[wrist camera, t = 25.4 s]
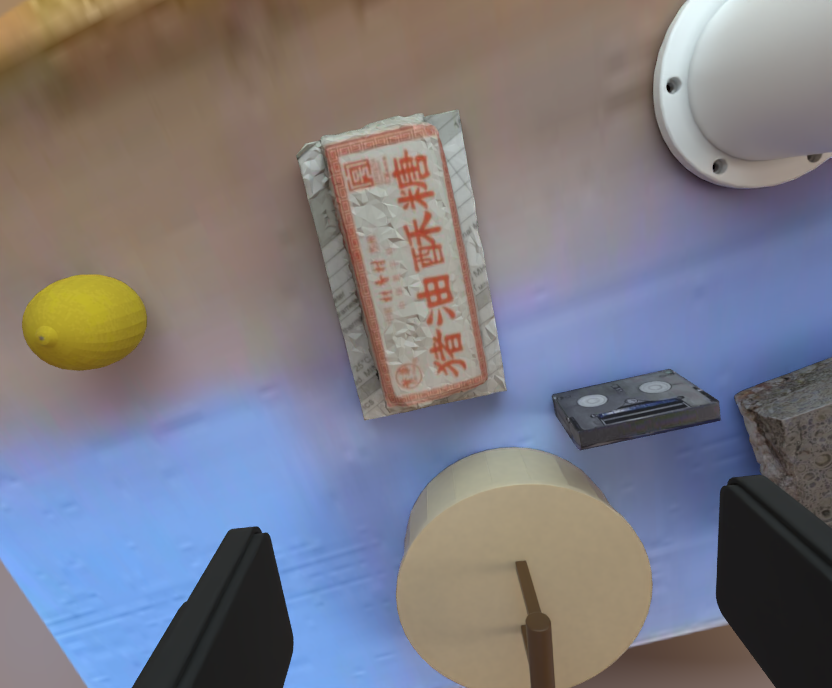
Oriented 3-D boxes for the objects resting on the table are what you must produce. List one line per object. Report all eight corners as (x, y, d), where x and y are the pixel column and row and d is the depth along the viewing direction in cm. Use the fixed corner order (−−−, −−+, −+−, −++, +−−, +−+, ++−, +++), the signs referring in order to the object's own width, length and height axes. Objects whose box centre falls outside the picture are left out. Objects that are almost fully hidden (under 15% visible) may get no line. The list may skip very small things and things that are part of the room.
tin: (609, 436, 36) (641, 474, 31) (613, 614, 40) (642, 674, 35) (393, 459, 37) (388, 500, 32) (419, 632, 41) (418, 693, 36)
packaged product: (276, 137, 26) (463, 93, 26) (298, 147, 31) (457, 111, 31) (357, 444, 31) (518, 413, 30) (366, 413, 36) (505, 386, 35)
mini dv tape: (555, 414, 36) (581, 454, 30) (551, 394, 35) (577, 431, 29) (672, 388, 35) (722, 425, 29) (670, 368, 35) (720, 401, 29)
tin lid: (645, 461, 31) (703, 528, 25) (645, 671, 36) (696, 776, 29) (380, 489, 32) (370, 561, 26) (413, 692, 36) (411, 798, 30)
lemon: (179, 287, 34) (107, 312, 26) (155, 360, 35) (80, 404, 27) (98, 253, 33) (-1, 267, 25) (77, 328, 34) (-23, 364, 27)
